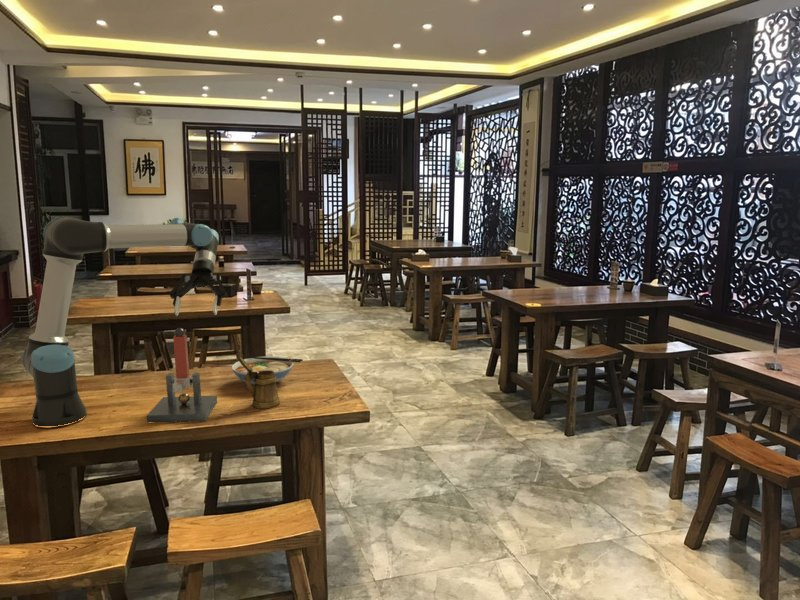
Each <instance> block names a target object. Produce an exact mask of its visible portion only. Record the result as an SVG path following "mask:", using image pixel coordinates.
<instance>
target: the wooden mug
mask: <svg viewBox="0 0 800 600" xmlns="http://www.w3.org/2000/svg"><path fill="white" fill-rule="evenodd" d="M236 358H237V360H238V361H239V362H240V363H241V364H242V366H243V367H244V368H245V369H246V370H247V371H248V372H247V374H246V377H245V382H244V383H245V386H246V387H247V389H248V391H250V393H251V395H252V405H253V407H254V408H256V409H264V410H265V409H266V408H267V409H271V408H275V407H277V406H279V405H281V401H280V397H279V394H278V388H277V382H276V376H275V375H274V371H271V370H265V371H260V372H258V373H257V371H253V370H252V369H251V368H250V366H249V365H248V364H247V363H246V362H245V361H244V359H245V358H244V359H243V357H241V356H239V355H236ZM253 378H255V379H254V382H255V385H253V384H251V383H250V381H251V380H252V379H253Z"/></svg>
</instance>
